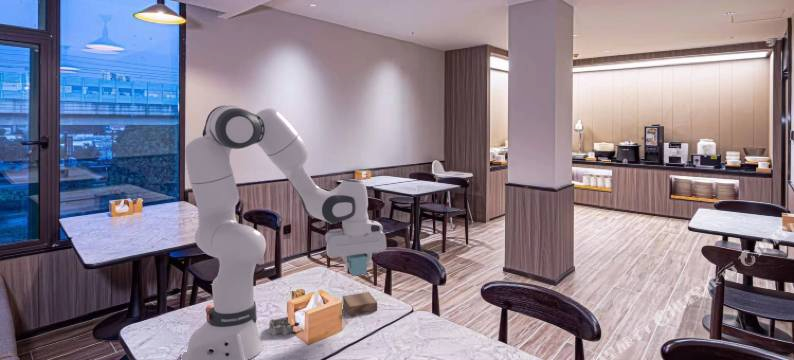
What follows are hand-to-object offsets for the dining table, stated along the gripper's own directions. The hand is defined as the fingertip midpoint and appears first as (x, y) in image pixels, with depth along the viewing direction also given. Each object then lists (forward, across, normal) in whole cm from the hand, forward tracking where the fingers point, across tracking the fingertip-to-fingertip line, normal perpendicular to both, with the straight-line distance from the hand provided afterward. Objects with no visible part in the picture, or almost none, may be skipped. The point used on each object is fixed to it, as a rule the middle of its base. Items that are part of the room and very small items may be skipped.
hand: (357, 266), depth 149 cm
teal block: (+2, 0, 0) cm, 2 cm away
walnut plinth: (+18, +2, +7) cm, 20 cm away
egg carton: (+18, -25, -1) cm, 31 cm away
